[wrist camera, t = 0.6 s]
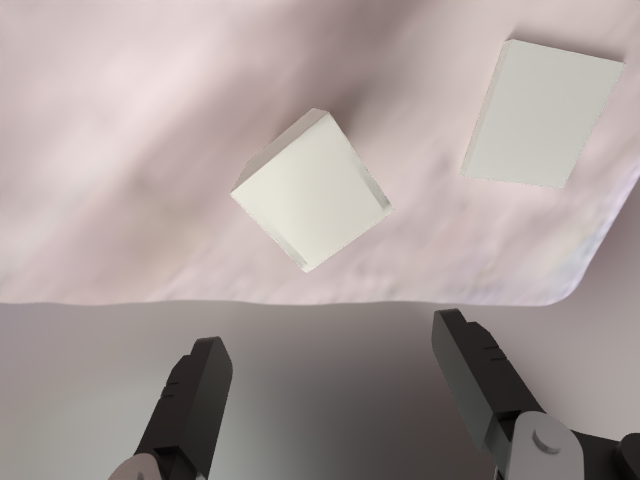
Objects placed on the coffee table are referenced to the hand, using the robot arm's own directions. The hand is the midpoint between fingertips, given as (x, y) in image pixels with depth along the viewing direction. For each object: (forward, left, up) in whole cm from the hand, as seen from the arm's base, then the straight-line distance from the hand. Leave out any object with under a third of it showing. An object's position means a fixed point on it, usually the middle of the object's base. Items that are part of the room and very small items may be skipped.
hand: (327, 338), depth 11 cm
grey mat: (-9, +23, -21) cm, 32 cm away
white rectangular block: (-3, 0, -14) cm, 15 cm away
